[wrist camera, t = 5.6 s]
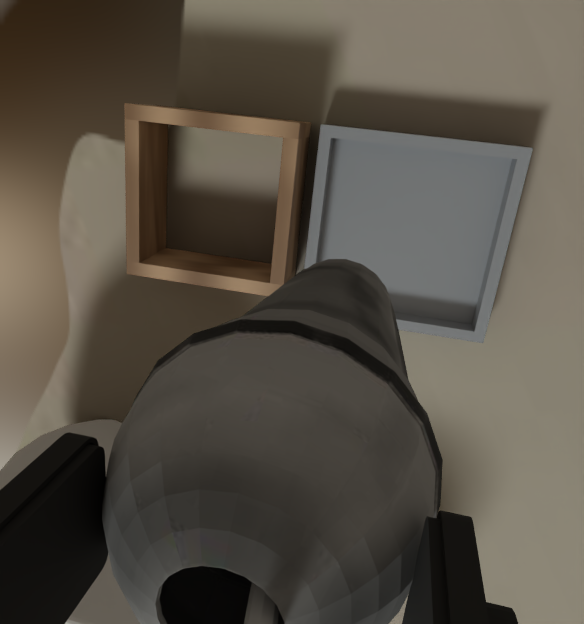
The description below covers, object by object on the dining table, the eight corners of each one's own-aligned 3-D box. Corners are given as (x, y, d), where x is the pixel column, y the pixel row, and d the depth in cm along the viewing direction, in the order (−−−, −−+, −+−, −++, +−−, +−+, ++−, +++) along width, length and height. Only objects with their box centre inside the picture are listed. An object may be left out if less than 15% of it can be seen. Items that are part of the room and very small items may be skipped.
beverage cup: (264, 213, 22) (-531, 675, 3) (442, 238, 21) (734, 1153, 2) (249, 369, 24) (-246, 1126, 6) (408, 400, 23) (411, 1458, 5)
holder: (311, 122, 38) (299, 122, 34) (294, 279, 43) (282, 298, 38) (155, 105, 40) (124, 103, 35) (154, 257, 44) (126, 273, 40)
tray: (525, 146, 36) (533, 148, 34) (478, 331, 41) (483, 343, 39) (324, 124, 38) (320, 124, 36) (303, 304, 43) (299, 313, 41)
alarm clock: (59, 459, 54) (-114, 634, 36) (72, 401, 51) (-108, 559, 33) (250, 542, 53) (174, 766, 35) (274, 488, 50) (205, 700, 32)
